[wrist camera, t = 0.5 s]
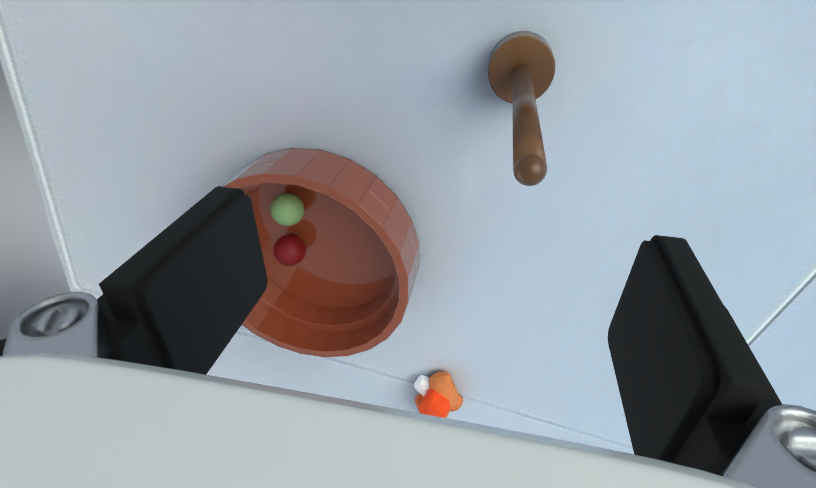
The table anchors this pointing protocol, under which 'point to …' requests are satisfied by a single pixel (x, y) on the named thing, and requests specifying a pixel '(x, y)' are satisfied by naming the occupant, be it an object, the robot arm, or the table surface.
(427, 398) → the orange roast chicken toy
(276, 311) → the bowl
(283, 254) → the red bead
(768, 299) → the table surface
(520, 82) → the wooden masher
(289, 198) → the green bead
